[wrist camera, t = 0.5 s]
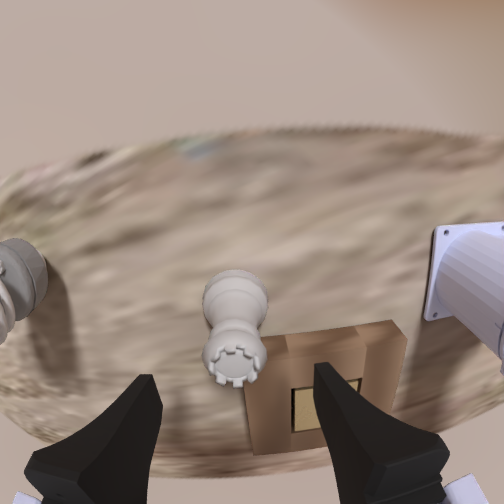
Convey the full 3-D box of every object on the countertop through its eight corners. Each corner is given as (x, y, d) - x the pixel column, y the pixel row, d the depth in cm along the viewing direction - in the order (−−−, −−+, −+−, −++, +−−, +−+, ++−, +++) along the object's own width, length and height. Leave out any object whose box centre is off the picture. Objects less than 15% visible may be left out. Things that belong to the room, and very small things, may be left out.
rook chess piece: (233, 334, 23) (231, 413, 15) (190, 293, 22) (168, 364, 14) (280, 299, 22) (300, 371, 14) (238, 253, 21) (238, 312, 13)
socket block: (391, 319, 23) (407, 339, 20) (373, 412, 26) (383, 434, 24) (240, 338, 23) (240, 363, 20) (252, 431, 26) (253, 455, 23)
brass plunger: (354, 373, 22) (358, 381, 21) (348, 413, 24) (351, 421, 23) (293, 382, 22) (295, 391, 21) (293, 422, 24) (294, 431, 23)
